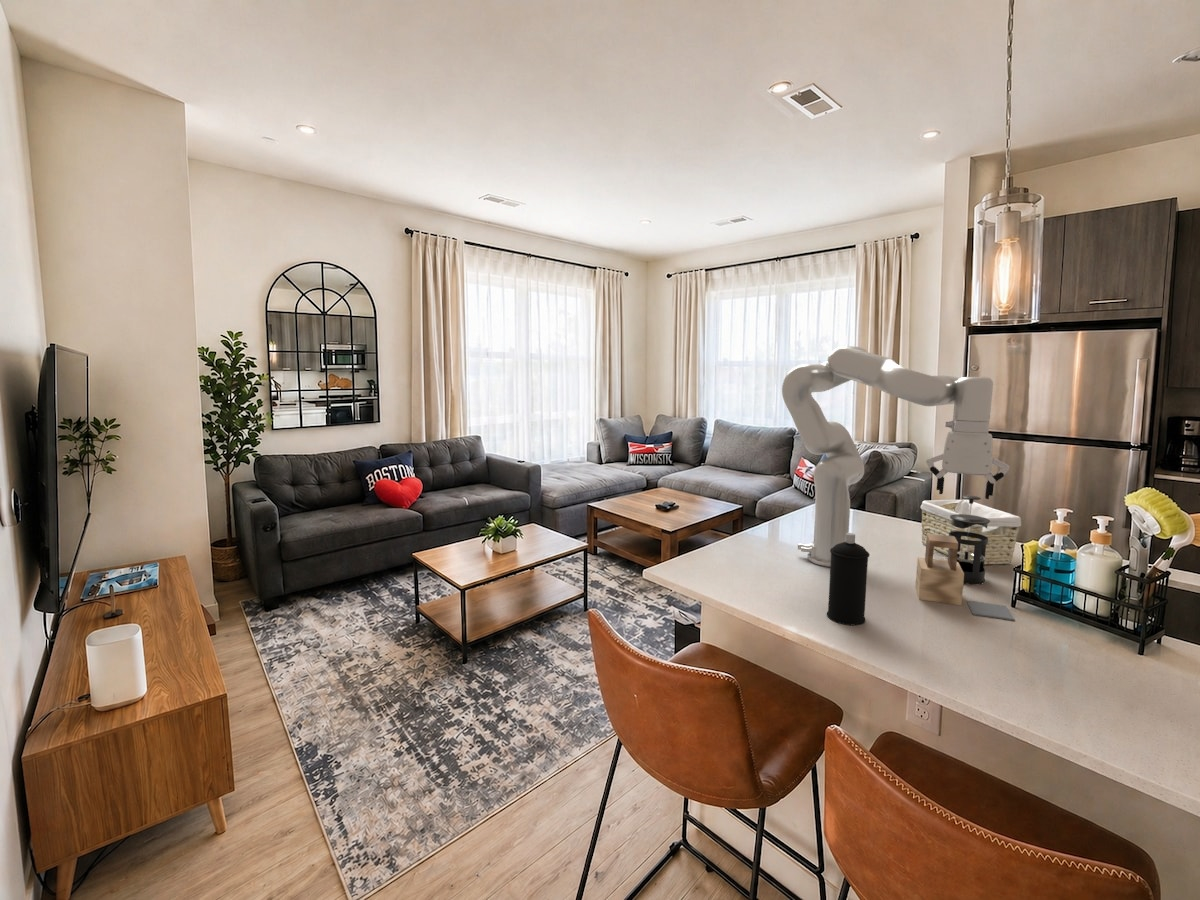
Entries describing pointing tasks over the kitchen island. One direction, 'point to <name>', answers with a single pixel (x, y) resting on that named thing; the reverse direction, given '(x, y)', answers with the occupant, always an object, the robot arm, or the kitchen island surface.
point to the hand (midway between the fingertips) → (963, 495)
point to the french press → (967, 560)
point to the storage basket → (973, 527)
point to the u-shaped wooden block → (944, 543)
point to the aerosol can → (848, 582)
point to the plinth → (939, 582)
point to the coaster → (990, 610)
